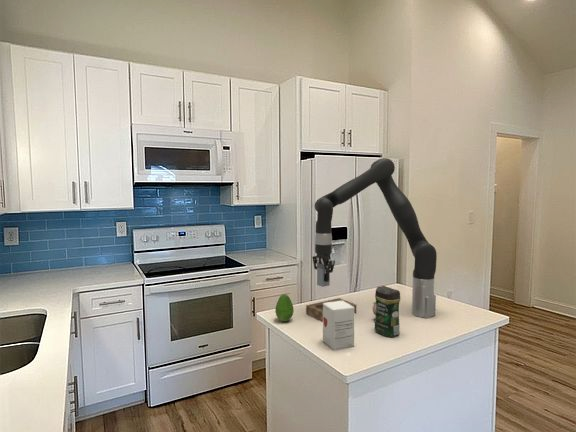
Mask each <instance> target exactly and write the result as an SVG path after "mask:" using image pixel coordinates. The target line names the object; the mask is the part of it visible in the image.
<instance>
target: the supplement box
mask: <svg viewBox="0 0 576 432" xmlns="http://www.w3.org/2000/svg"><path fill="white" fill-rule="evenodd" d="M343 300H344V299H343ZM343 300H342V301H335V302H326V303H323V322H322V342H324V343H325V344H326V345H327V346H328V347H329V348H331V349H332V350H333V351H335V350H336V351H337V350H342V349H345V348H351V347H354V346H355V314H354V310H355V308H354V307H353V306H351V305H350V304H348V303H346V302H344V301H343Z"/></svg>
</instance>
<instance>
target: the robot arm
mask: <svg viewBox="0 0 576 432" xmlns="http://www.w3.org/2000/svg"><path fill="white" fill-rule="evenodd" d="M395 169H396V167H395V163H394V162H393V160H392V159H390V158H387V157H384V158H379V159H377V160H375V161H374V162H372V164H371V165H370V168H368V170H366V171H364V172H363V173H362V174H360V175H358V176H356V177H354V178H353V179H350V180H348V181H347V182H345V183H344V184H342V185H340V186H339V187H337V188H335V189H334V190H333V191H331V192H330V193H327V194H325V195H323V196H321V197H320V198H318V199H316V201H315V203H314V209H315V211H316V212H317V214H316V215H317V217H316V219H317V220H316V221H315V236H314V252H315V254H316V255H314V256H312V263H313V269H314V270H316V271H317V263H321V264H323V268H324V273H325V274H324V281H325V282H328V281H329V273H330V274H331V273H333V272H334V268H335V264H336V260H335V259H332V258H331V255H332V252H333V235H332V221H333V220H332V219H333V213H334V208H335V207H336V206H339V205H342V204H343V203H346V202H347V201H349V200H351V199H352V198H354V197H355V196H357V195H358V194H359V193H361V192H362V191H364V190H365V189H367V188H368V187H370V186H372V185H374V184H376V185H377V186H378V188H379V189H380V191H381V193H382V195H383V197H384V200H385V201H386V203H387V205H388V207H389V209H390V212H391V214H392V216H393V218H394V220H395V221H396V223H397V225H398V227H399V228H400V230H401V232H402V233H403V235H404V236H405V238H406V240H407V243H408V245H409V248H410V251H411V253H412V255H413V257H414V268H413V271H412V290H411V291H412V293H411V295H412V296H411V297H412V299H411V300H412V301H411V314H412V315H413V316H415V317H418V318H419V317H420V318H425V319H428V318H431V317H435V316H436V306H437V305H436V304H437V301H436V300H437V299H436V297H437V296H436V294H435V274H436V271H437V257H438V256H437V255H438V253H437V250H436V248H435V246H433V245H432V244H431V243H429V241H428V240H427V238H426V237H425V236H424V234H423V232H422V230H421V228H420V225H419V224H420V223H419V221H418V218H417V214H416V211H415V209H414V207H413V205H412V203H411V202H410V200H409V198H408V197H407V196H406V194H405V193H404V192H403V191H402V190H401V189H400V188H399V187H398V185H397V184H396V183H395V180H394V178H393V174H394V172H395ZM325 265H328V266H325ZM326 268H327V271H326Z"/></svg>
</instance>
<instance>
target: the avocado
mask: <svg viewBox="0 0 576 432" xmlns="http://www.w3.org/2000/svg"><path fill="white" fill-rule="evenodd" d="M274 310H275V311H274V313H275V315H276V317H277V319H278V320H279V321H280V322H287V321H289V320H291V318H292V316H293V315H294V312H295V311H294V305H293V302H292V300H291V298H290V296H289V295H287V294H286V293H285V294H284V293H282V294H281V295H280V296H279V298H278V300H277V302H276V304H275V309H274Z"/></svg>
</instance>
